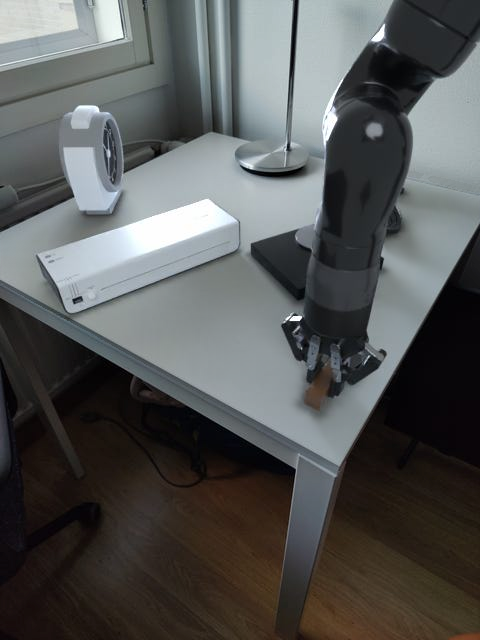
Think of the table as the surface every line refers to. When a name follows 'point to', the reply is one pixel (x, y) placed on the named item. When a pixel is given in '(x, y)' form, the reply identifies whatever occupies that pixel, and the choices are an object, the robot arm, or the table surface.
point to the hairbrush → (394, 220)
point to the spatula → (324, 383)
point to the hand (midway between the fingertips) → (323, 388)
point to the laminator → (138, 254)
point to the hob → (286, 261)
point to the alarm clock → (92, 158)
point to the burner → (305, 237)
